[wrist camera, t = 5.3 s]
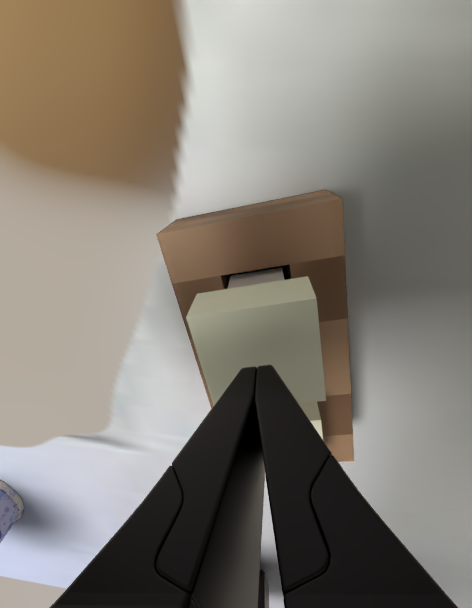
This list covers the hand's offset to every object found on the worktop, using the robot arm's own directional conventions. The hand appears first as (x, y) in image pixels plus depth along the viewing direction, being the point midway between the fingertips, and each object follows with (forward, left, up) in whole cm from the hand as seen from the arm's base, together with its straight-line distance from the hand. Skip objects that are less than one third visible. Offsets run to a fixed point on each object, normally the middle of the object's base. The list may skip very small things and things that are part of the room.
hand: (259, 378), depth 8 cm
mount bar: (0, -3, -8) cm, 9 cm away
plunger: (0, 0, -5) cm, 5 cm away
